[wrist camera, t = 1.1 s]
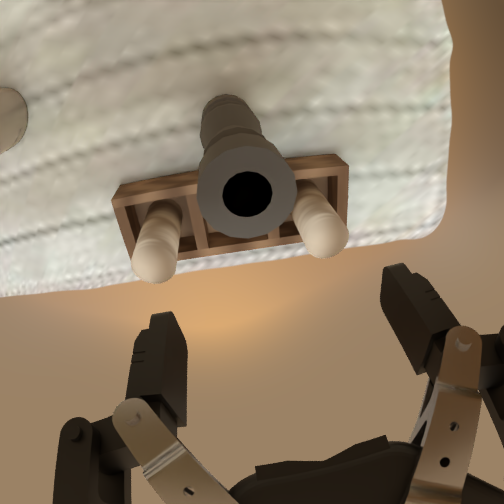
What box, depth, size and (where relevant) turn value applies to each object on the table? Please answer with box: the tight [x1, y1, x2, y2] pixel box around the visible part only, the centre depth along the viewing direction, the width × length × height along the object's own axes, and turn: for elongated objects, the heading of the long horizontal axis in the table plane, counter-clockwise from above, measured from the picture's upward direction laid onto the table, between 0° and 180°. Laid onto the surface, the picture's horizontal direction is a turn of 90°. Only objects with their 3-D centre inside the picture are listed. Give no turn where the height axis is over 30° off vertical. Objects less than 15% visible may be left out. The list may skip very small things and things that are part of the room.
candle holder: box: [196, 94, 297, 239], centre depth 28 cm, size 6×6×25 cm
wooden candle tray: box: [111, 154, 349, 284], centre depth 40 cm, size 30×10×13 cm, turn 95°
